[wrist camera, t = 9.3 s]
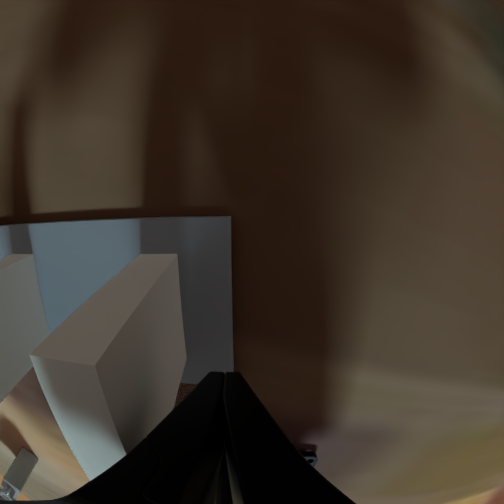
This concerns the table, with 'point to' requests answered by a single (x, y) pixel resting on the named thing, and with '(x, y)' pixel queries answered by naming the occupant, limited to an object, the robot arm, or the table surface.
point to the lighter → (17, 475)
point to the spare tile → (116, 362)
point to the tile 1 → (19, 319)
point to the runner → (125, 251)
